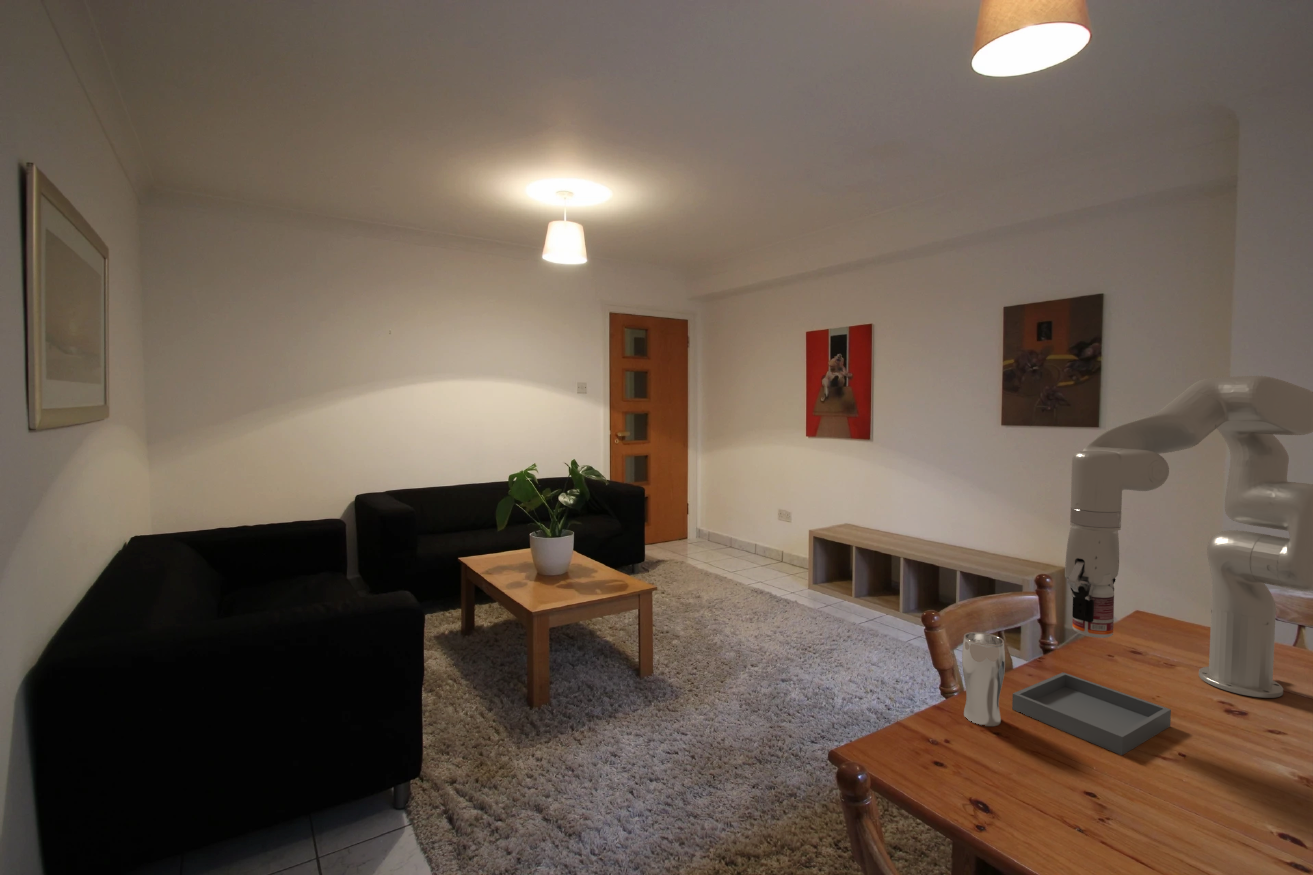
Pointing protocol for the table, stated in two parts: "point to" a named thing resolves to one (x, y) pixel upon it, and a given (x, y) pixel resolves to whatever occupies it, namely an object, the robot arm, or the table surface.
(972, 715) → the beer glass
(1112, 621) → the pill bottle
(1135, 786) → the table surface
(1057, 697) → the tray
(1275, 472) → the robot arm
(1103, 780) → the table surface
